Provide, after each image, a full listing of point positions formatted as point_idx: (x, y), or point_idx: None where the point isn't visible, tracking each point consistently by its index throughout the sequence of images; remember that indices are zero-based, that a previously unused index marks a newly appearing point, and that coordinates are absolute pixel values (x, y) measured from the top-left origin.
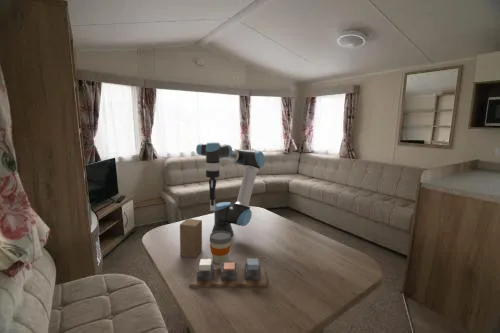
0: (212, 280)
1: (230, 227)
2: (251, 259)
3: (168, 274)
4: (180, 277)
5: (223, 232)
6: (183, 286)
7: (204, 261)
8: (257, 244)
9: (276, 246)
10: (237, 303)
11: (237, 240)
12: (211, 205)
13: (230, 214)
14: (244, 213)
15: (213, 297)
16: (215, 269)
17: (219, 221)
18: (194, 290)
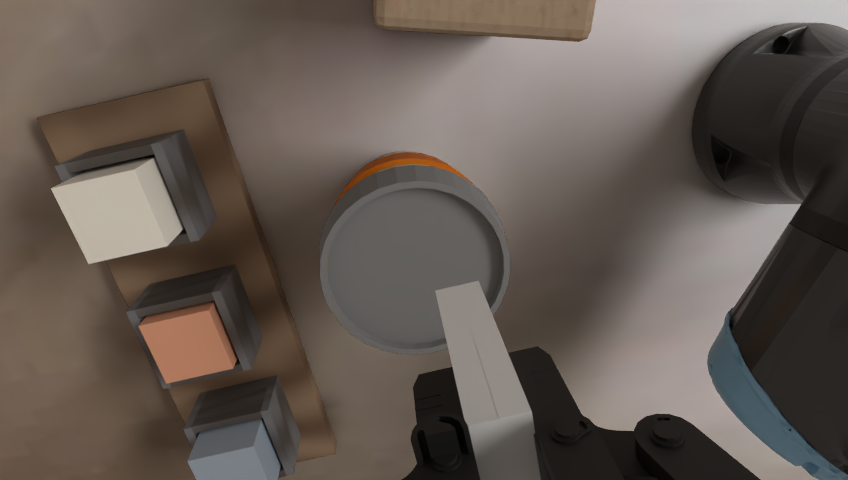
0: None
1: (793, 202)
2: (251, 468)
3: None
4: (115, 12)
5: (494, 272)
6: (39, 73)
7: (111, 209)
8: (618, 372)
9: None
10: (43, 381)
11: (669, 247)
12: (420, 381)
13: (823, 291)
14: (779, 447)
15: (30, 270)
16: (246, 220)
17: (819, 131)
18: (35, 155)
